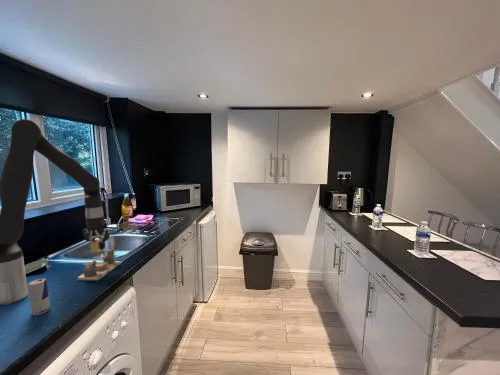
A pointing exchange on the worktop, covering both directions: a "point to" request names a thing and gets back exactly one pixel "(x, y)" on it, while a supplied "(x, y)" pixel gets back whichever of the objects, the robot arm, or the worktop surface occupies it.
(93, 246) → the slotted brass block
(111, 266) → the coupling base
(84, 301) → the worktop surface
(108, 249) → the shafts
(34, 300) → the energy drink
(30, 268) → the metal bracket
